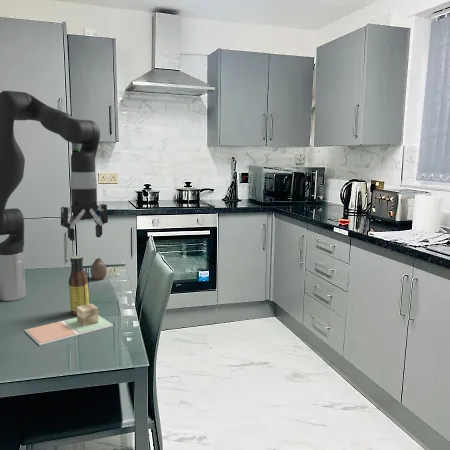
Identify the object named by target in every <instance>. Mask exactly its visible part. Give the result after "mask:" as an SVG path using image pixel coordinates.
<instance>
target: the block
mask: <svg viewBox="0 0 450 450" xmlns="http://www.w3.org/2000/svg"><path fill="white" fill-rule="evenodd" d="M98 315H99V308H98V307H97V306H96V305H95V304H93V303H89V304H88V305H83V306H78V307H77V315H76V317H77V322H78V323H80V324H81V325H82V326H88V325H92V324H96V323H98Z"/></svg>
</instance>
